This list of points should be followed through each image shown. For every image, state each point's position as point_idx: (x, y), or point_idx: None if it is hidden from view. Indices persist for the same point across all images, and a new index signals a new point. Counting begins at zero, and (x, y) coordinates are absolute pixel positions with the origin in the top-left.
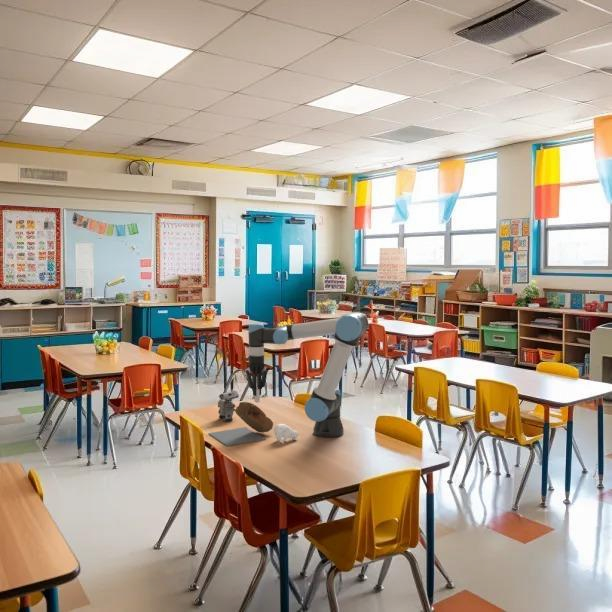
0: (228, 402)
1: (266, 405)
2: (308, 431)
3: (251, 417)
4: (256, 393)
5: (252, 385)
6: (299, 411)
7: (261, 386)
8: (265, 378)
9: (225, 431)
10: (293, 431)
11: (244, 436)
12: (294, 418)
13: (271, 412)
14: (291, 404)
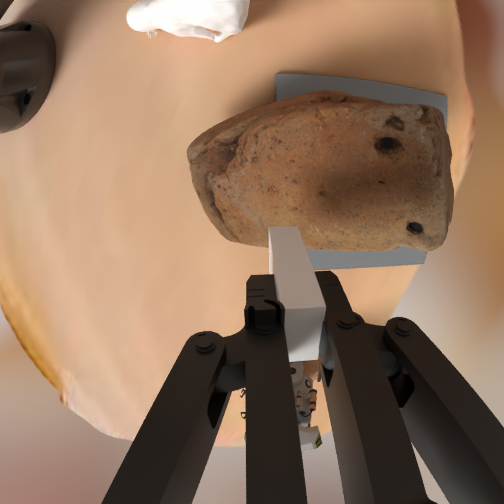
0: None
1: (129, 411)
2: (56, 114)
3: (380, 100)
4: (314, 281)
5: (410, 352)
6: (49, 338)
7: (236, 349)
8: (142, 452)
9: (373, 254)
10: (149, 1)
11: None
12: (65, 290)
13: (125, 370)
14: (68, 387)
